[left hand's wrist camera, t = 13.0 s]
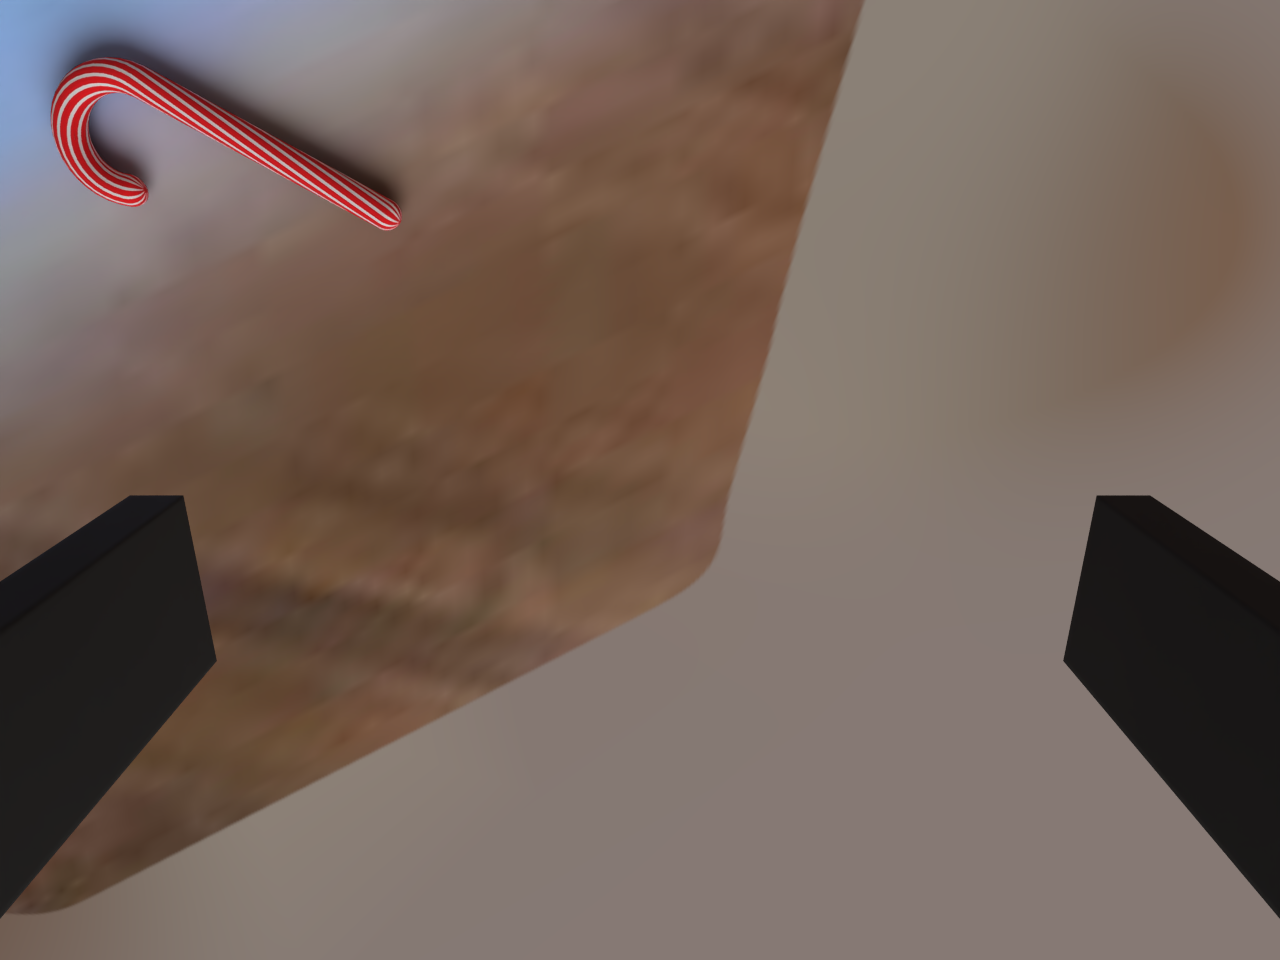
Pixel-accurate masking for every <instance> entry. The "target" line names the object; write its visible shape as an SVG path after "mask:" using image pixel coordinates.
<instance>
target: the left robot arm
mask: <svg viewBox="0 0 1280 960" xmlns="http://www.w3.org/2000/svg"><path fill="white" fill-rule="evenodd" d="M216 661H217V660H216V655H215V650H214V645H213V640H212V635H211V630H210V625H209V620H208V616H207V611H206V606H205V601H204V596H203V591H202V586H201V581H200V576H199V571H198V566H197V561H196V556H195V551H194V546H193V541H192V536H191V531H190V526H189V521H188V517H187V512H186V507H185V502H184V497H183V496H129V497H127V498H126V499H124V500H123V501H121V502H120V503H118V504H116V505H115V506H113V507H112V508H110V509H109V510H107V511H106V512H104V513H103V514H101V515H100V516H98V517H97V518H95V519H94V520H92V521H91V522H89V523H88V524H86V525H85V526H83V527H82V528H80V529H79V530H77V531H76V532H74V533H73V534H71V535H70V536H68V537H67V538H65V539H64V540H62V541H61V542H59V543H58V544H56V545H55V546H53V547H52V548H50V549H49V550H47V551H46V552H44V553H43V554H41V555H40V556H38V557H37V558H35V559H34V560H32V561H31V562H29V563H28V564H26V565H25V566H23V567H22V568H20V569H19V570H17V571H16V572H14V573H13V574H11V575H10V576H8V577H7V578H5V579H4V580H2V581H1V582H0V918H1V917H2V916H3V915H4V913H5V912H6V911H7V910H8V909H9V907H10V906H11V905H12V904H13V903H14V902H15V900H16V899H17V898H18V897H19V896H20V894H21V893H22V892H23V891H24V890H25V888H26V887H27V886H28V885H29V884H30V882H31V881H32V880H33V879H34V878H35V877H36V875H37V874H38V873H39V872H40V871H41V869H42V868H43V867H44V866H45V865H46V863H47V862H48V861H49V860H50V859H51V857H52V856H53V855H54V854H55V853H56V852H57V850H58V849H59V848H60V847H61V846H62V844H63V843H64V842H65V841H66V840H67V838H68V837H69V836H70V835H71V834H72V832H73V831H74V830H75V829H76V828H77V827H78V825H79V824H80V823H81V822H82V821H83V819H84V818H85V817H86V816H87V815H88V813H89V812H90V811H91V810H92V809H93V807H94V806H95V805H96V804H97V803H98V802H99V800H100V799H101V798H102V797H103V796H104V794H105V793H106V792H107V791H108V790H109V788H110V787H111V786H112V785H113V784H114V782H115V781H116V780H117V779H118V778H119V777H120V775H121V774H122V773H123V772H124V771H125V769H126V768H127V767H128V766H129V765H130V763H131V762H132V761H133V760H134V759H135V757H136V756H137V755H138V754H139V753H140V752H141V750H142V749H143V748H144V747H145V746H146V744H147V743H148V742H149V741H150V740H151V738H152V737H153V736H154V735H155V734H156V732H157V731H158V730H159V729H160V728H161V727H162V725H163V724H164V723H165V722H166V721H167V719H168V718H169V717H170V716H171V715H172V713H173V712H174V711H175V710H176V709H177V707H178V706H179V705H180V704H181V703H182V702H183V700H184V699H185V698H186V697H187V696H188V694H189V693H190V692H191V691H192V690H193V688H194V687H195V686H196V685H197V684H198V682H199V681H200V680H201V679H202V678H203V677H204V675H205V674H206V673H207V672H208V671H209V669H210V668H211V667H212V666H213V665H214V663H215V662H216ZM1063 661H1064V662H1065V663H1066V665H1067V666H1068V667H1069V668H1070V669H1071V671H1072V672H1073V673H1074V674H1075V675H1076V677H1077V678H1078V679H1079V680H1080V681H1081V682H1082V684H1083V685H1084V686H1085V687H1086V688H1087V690H1088V691H1089V692H1090V693H1091V694H1092V695H1093V697H1094V698H1095V699H1096V700H1097V702H1098V703H1099V704H1100V705H1101V706H1102V707H1103V709H1104V710H1105V711H1106V712H1107V713H1108V715H1109V716H1110V717H1111V718H1112V719H1113V721H1114V722H1115V723H1116V724H1117V725H1118V726H1119V728H1120V729H1121V730H1122V731H1123V732H1124V734H1125V735H1126V736H1127V737H1128V738H1129V740H1130V741H1131V742H1132V743H1133V744H1134V746H1135V747H1136V748H1137V749H1138V750H1139V752H1140V753H1141V754H1142V755H1143V756H1144V757H1145V759H1146V760H1147V761H1148V762H1149V763H1150V765H1151V766H1152V767H1153V768H1154V769H1155V771H1156V772H1157V773H1158V774H1159V775H1160V777H1161V778H1162V779H1163V780H1164V781H1165V782H1166V784H1167V785H1168V786H1169V787H1170V788H1171V790H1172V791H1173V792H1174V793H1175V794H1176V796H1177V797H1178V798H1179V799H1180V800H1181V802H1182V803H1183V804H1184V805H1185V806H1186V807H1187V809H1188V810H1189V811H1190V812H1191V813H1192V815H1193V816H1194V817H1195V818H1196V819H1197V821H1198V822H1199V823H1200V824H1201V825H1202V827H1203V828H1204V829H1205V830H1206V831H1207V832H1208V834H1209V835H1210V836H1211V837H1212V838H1213V840H1214V841H1215V842H1216V843H1217V844H1218V846H1219V847H1220V848H1221V849H1222V850H1223V852H1224V853H1225V854H1226V855H1227V856H1228V857H1229V859H1230V860H1231V861H1232V862H1233V863H1234V865H1235V866H1236V867H1237V868H1238V869H1239V871H1240V872H1241V873H1242V874H1243V875H1244V877H1245V878H1246V879H1247V880H1248V881H1249V882H1250V884H1251V885H1252V886H1253V887H1254V888H1255V890H1256V891H1257V892H1258V893H1259V894H1260V896H1261V897H1262V898H1263V899H1264V900H1265V901H1266V903H1267V904H1268V905H1269V906H1270V907H1271V909H1272V910H1273V911H1274V912H1275V913H1276V915H1277V916H1278V917H1279V918H1280V582H1279V581H1278V580H1276V579H1275V578H1273V577H1272V576H1270V575H1269V574H1267V573H1266V572H1264V571H1263V570H1261V569H1260V568H1258V567H1257V566H1255V565H1254V564H1252V563H1251V562H1249V561H1248V560H1246V559H1245V558H1243V557H1242V556H1240V555H1239V554H1237V553H1236V552H1234V551H1233V550H1231V549H1230V548H1228V547H1227V546H1225V545H1224V544H1222V543H1221V542H1219V541H1218V540H1216V539H1215V538H1213V537H1212V536H1210V535H1209V534H1207V533H1206V532H1204V531H1203V530H1201V529H1200V528H1198V527H1197V526H1195V525H1194V524H1192V523H1191V522H1189V521H1187V520H1186V519H1185V518H1183V517H1182V516H1180V515H1179V514H1177V513H1175V512H1174V511H1173V510H1171V509H1170V508H1168V507H1166V506H1165V505H1163V504H1162V503H1160V502H1159V501H1157V500H1156V499H1154V498H1153V497H1151V496H1097V497H1096V502H1095V507H1094V512H1093V517H1092V521H1091V527H1090V532H1089V536H1088V541H1087V546H1086V551H1085V556H1084V561H1083V566H1082V571H1081V576H1080V581H1079V586H1078V591H1077V596H1076V601H1075V606H1074V611H1073V616H1072V621H1071V625H1070V630H1069V636H1068V640H1067V645H1066V650H1065V655H1064V660H1063Z"/></svg>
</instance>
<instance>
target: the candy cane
mask: <svg viewBox="0 0 1280 960" xmlns="http://www.w3.org/2000/svg"><path fill="white" fill-rule="evenodd" d="M110 93H124V94H128V95H130V96H133V97H135V98H137V99H139V100H141V101H142V102H144V103H146V104H148V105H150V106H152V107H154V108H156V109H158V110H159V111H161V112H163V113H165V114H167V115H169V116H170V117H172V118H174V119H176V120H178V121H180V122H182V123H184V124H185V125H187V126H189V127H191V128H193V129H195V130H197V131H199V132H200V133H202V134H204V135H206V136H208V137H210V138H212V139H213V140H215V141H217V142H219V143H221V144H223V145H225V146H227V147H228V148H230V149H232V150H234V151H236V152H238V153H240V154H242V155H243V156H245V157H247V158H249V159H251V160H253V161H255V162H257V163H258V164H260V165H262V166H264V167H266V168H268V169H270V170H271V171H273V172H275V173H277V174H279V175H281V176H283V177H284V178H286V179H288V180H290V181H292V182H294V183H296V184H298V185H299V186H301V187H303V188H305V189H307V190H309V191H311V192H313V193H314V194H316V195H318V196H320V197H322V198H324V199H326V200H327V201H329V202H331V203H333V204H335V205H337V206H339V207H340V208H342V209H344V210H346V211H348V212H350V213H352V214H354V215H355V216H357V217H359V218H361V219H363V220H365V221H367V222H369V223H371V224H372V225H374V226H376V227H378V228H380V229H382V230H392V229H395V228H396V227H397V226H398V225H399V224H400V222H401V219H402V213H401V209H400V207H399V206H398V205H397V204H396V203H395V202H394V201H392V200H391V199H389V198H387V197H385V196H383V195H381V194H380V193H378V192H376V191H374V190H372V189H370V188H369V187H367V186H365V185H363V184H361V183H359V182H358V181H356V180H354V179H352V178H350V177H348V176H346V175H345V174H343V173H341V172H339V171H337V170H335V169H334V168H332V167H330V166H328V165H326V164H324V163H323V162H321V161H319V160H317V159H315V158H313V157H311V156H310V155H308V154H306V153H304V152H302V151H300V150H299V149H297V148H295V147H293V146H291V145H289V144H288V143H286V142H284V141H282V140H280V139H278V138H276V137H275V136H273V135H271V134H269V133H267V132H265V131H264V130H262V129H260V128H258V127H256V126H254V125H252V124H251V123H249V122H247V121H245V120H243V119H242V118H240V117H238V116H236V115H234V114H232V113H230V112H229V111H227V110H225V109H223V108H221V107H219V106H217V105H216V104H214V103H212V102H210V101H208V100H206V99H205V98H203V97H201V96H199V95H197V94H195V93H193V92H192V91H190V90H188V89H186V88H184V87H183V86H181V85H179V84H177V83H175V82H173V81H171V80H170V79H168V78H166V77H164V76H162V75H160V74H159V73H157V72H155V71H153V70H151V69H149V68H147V67H146V66H143V65H141V64H138V63H136V62H134V61H130V60H126V59H122V58H113V57H104V58H95V59H92V60H89V61H85V62H84V63H82V64H80V65H78V66H76V67H75V68H73V69H72V70H71V71H70V72H69V73H67V74H66V76H65V77H64V78H63V79H62V81H61V82H60V84H59V85H58V87H57V89H56V91H55V94H54V98H53V101H52V107H51V127H52V133H53V137H54V140H55V143H56V146H57V149H58V151H59V153H60V155H61V157H62V159H63V161H64V162H65V164H66V165H67V167H68V168H69V170H70V171H71V172H72V173H73V174H74V176H75V177H76V178H77V179H78V180H79V181H80V182H81V183H82V184H83V185H85V186H86V187H87V188H88V189H90V190H91V191H93V192H94V193H95V194H97V195H99V196H101V197H103V198H105V199H107V200H109V201H112V202H114V203H117V204H121V205H126V206H131V207H136V206H140V205H142V204H144V203H145V202H146V201H147V199H148V195H149V194H148V189H147V187H146V185H145V184H144V183H143V181H142V180H140V179H139V178H138V177H136V176H134V175H131V174H126V173H122V172H119V171H117V170H115V169H114V168H112V167H111V166H109V165H108V164H107V163H106V162H105V161H104V160H103V159H102V158H101V157H100V156H99V154H98V153H97V151H96V150H95V148H94V146H93V144H92V141H91V138H90V134H89V116H90V113H91V110H92V108H93V106H94V104H95V103H96V102H97V101H98V100H99V99H100V98H101V97H103V96H105V95H107V94H110Z"/></svg>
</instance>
